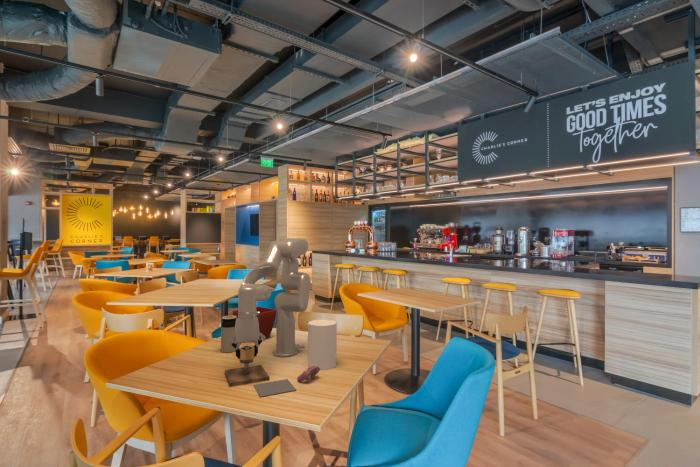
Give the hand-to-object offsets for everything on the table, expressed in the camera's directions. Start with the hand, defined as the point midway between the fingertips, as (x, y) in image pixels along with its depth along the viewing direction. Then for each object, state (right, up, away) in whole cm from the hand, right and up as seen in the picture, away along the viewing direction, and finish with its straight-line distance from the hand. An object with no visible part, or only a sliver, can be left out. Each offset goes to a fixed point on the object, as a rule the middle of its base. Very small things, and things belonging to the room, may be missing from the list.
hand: (246, 356), depth 153 cm
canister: (+31, -9, +15) cm, 36 cm away
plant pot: (-13, -10, +60) cm, 62 cm away
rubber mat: (+15, -8, -12) cm, 21 cm away
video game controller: (+27, -9, -3) cm, 29 cm away
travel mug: (-20, -10, +36) cm, 42 cm away
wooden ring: (0, 0, 0) cm, 0 cm away
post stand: (0, -9, 0) cm, 9 cm away
